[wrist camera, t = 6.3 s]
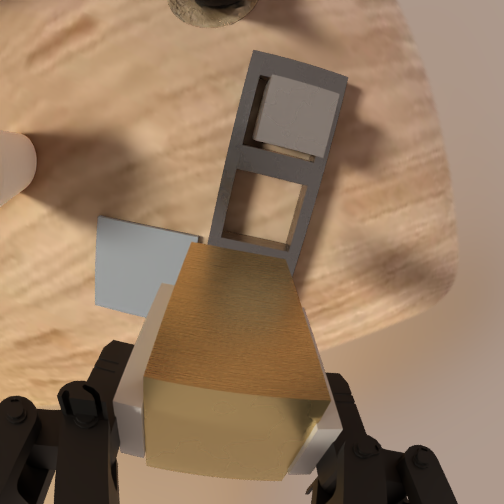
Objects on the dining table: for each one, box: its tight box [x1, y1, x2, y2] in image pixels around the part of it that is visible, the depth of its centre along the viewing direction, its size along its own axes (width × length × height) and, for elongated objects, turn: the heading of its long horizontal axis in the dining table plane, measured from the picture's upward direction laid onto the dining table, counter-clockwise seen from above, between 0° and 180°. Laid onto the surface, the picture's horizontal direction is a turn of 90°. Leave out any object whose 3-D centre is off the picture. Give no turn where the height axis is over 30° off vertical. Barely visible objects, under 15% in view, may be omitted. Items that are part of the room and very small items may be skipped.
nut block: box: [143, 242, 331, 481], centre depth 12 cm, size 5×5×9 cm
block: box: [252, 74, 340, 158], centre depth 22 cm, size 5×5×7 cm
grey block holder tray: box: [208, 50, 348, 276], centre depth 28 cm, size 26×8×2 cm, turn 166°
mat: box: [95, 215, 199, 318], centre depth 30 cm, size 10×10×1 cm
